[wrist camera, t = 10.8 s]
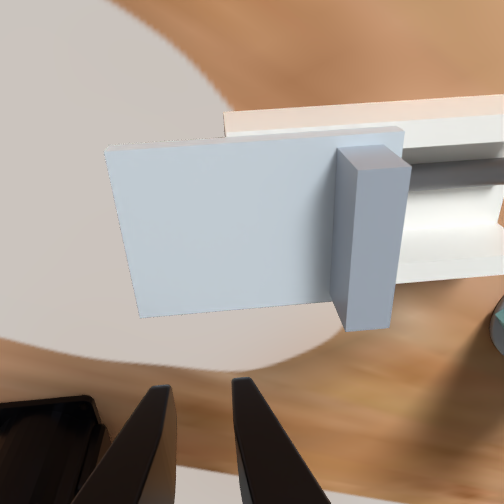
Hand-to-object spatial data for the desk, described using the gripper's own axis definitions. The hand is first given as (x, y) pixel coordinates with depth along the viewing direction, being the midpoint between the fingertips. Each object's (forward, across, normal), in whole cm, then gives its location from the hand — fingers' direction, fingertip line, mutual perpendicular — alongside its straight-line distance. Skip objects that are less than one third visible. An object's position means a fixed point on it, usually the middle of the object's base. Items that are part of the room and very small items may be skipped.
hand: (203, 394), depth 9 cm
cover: (+8, -2, 0) cm, 9 cm away
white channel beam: (+12, -8, 0) cm, 14 cm away
